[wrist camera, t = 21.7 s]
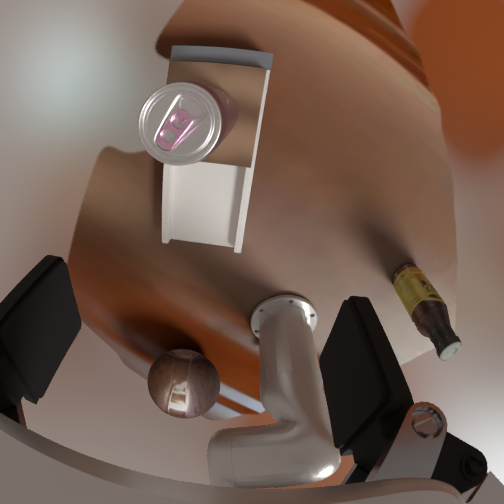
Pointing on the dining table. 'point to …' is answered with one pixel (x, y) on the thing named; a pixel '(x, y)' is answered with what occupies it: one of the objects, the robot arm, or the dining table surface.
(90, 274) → the dining table surface
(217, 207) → the track
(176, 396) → the wooden sphere
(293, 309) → the robot arm
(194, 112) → the beverage can
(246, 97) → the slab
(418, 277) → the sauce bottle
